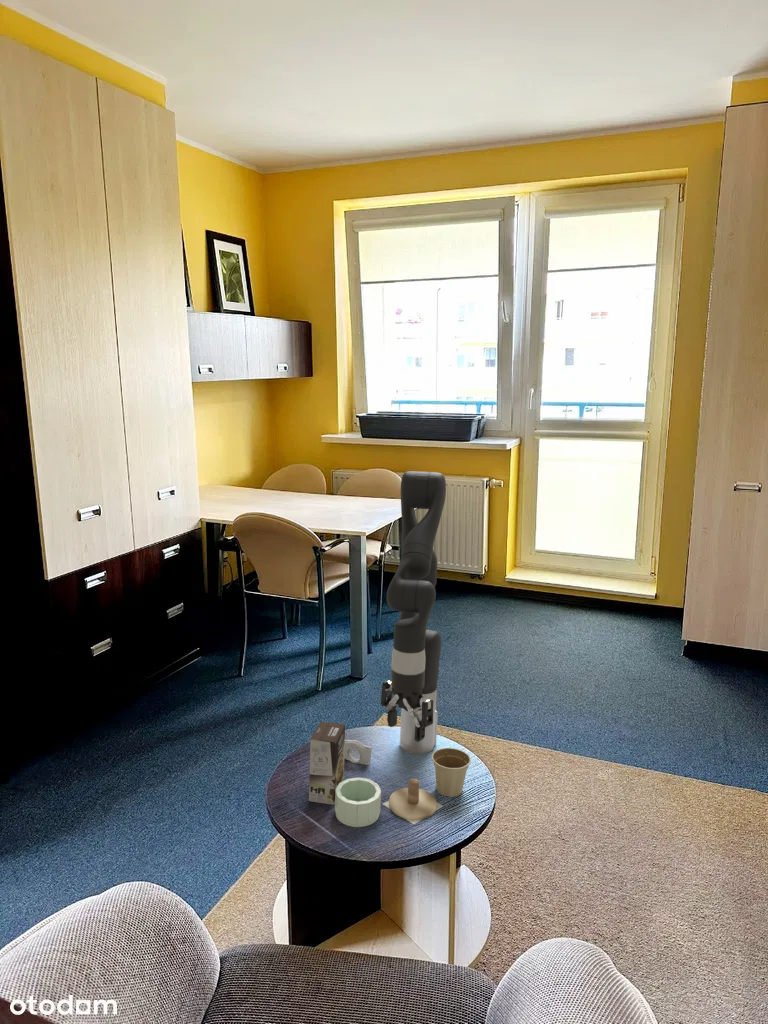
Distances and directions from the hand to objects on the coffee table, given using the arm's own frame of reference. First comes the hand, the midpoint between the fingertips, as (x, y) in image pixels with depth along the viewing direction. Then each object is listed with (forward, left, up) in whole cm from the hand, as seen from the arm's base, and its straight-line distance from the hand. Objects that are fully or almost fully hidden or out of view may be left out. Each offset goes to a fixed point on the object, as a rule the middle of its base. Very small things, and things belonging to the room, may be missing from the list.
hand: (405, 732), depth 158 cm
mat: (-2, +2, -19) cm, 19 cm away
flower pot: (-13, +3, -19) cm, 24 cm away
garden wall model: (-4, -23, -19) cm, 30 cm away
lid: (-2, +2, -18) cm, 19 cm away
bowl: (+10, -5, -19) cm, 22 cm away
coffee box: (+10, -16, -19) cm, 26 cm away
